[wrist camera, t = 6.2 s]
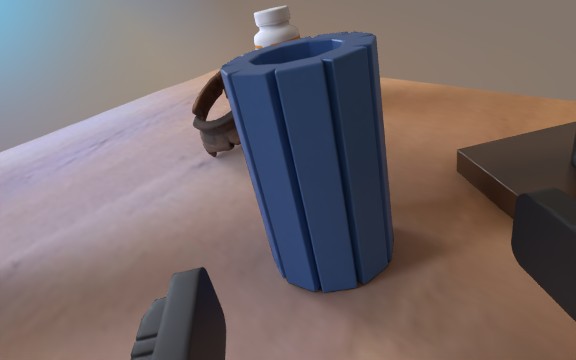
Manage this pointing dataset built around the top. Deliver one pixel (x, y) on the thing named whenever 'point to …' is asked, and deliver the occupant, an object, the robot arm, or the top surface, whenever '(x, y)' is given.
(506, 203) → the stand
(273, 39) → the supplement bottle
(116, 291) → the top surface
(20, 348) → the top surface
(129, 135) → the top surface
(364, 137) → the fluted pencil holder
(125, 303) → the top surface
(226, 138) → the brown curved piece
